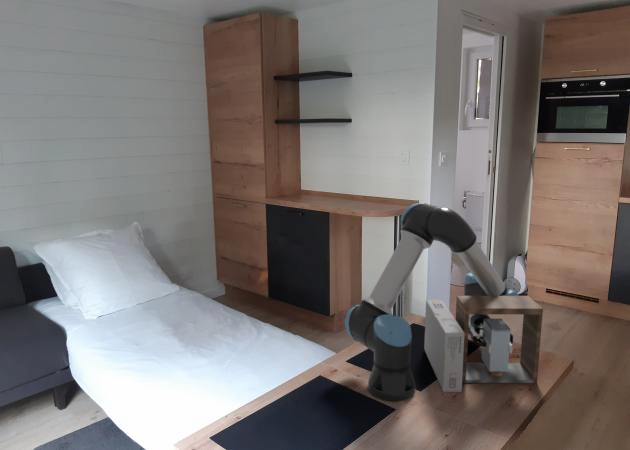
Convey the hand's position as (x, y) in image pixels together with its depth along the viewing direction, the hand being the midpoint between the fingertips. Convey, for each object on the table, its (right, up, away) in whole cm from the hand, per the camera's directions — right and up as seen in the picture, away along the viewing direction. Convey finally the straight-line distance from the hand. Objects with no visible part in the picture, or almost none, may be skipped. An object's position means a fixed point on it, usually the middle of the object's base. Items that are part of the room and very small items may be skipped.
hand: (500, 349), depth 160 cm
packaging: (-16, -10, +12) cm, 22 cm away
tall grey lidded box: (0, -7, +7) cm, 10 cm away
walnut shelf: (0, -10, +7) cm, 13 cm away
